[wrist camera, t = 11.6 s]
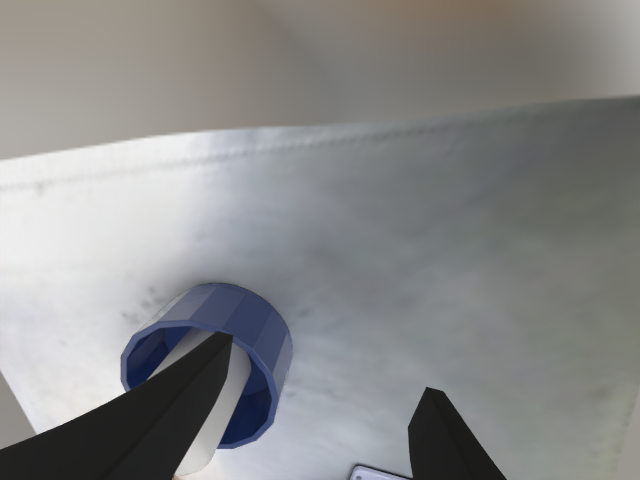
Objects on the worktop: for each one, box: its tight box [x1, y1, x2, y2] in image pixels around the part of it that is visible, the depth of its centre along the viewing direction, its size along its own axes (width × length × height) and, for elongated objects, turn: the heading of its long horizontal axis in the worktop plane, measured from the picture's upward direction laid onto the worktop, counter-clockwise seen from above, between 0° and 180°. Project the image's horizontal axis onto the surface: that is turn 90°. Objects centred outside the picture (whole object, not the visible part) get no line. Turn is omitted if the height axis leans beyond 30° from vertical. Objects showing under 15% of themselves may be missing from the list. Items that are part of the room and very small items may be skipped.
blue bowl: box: [121, 283, 292, 449], centre depth 22 cm, size 10×10×5 cm
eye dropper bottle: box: [147, 327, 251, 476], centre depth 18 cm, size 4×6×12 cm
